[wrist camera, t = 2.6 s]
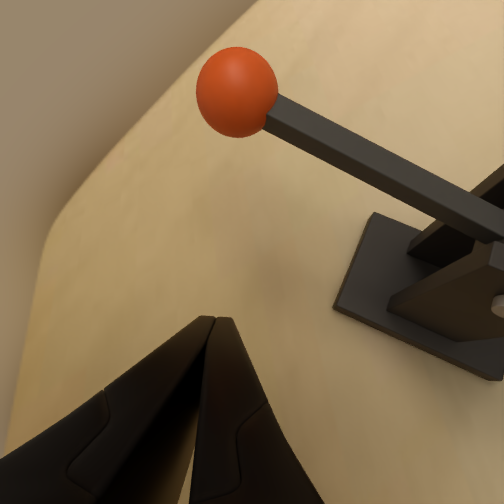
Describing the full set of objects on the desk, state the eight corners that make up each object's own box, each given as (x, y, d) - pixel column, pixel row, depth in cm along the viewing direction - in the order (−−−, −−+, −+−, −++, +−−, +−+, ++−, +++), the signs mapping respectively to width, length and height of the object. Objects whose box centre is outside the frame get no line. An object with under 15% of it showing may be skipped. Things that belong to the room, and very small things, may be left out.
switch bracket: (331, 308, 22) (397, 256, 11) (368, 218, 24) (452, 105, 13) (489, 381, 20) (727, 395, 10) (514, 278, 22) (734, 201, 12)
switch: (182, 130, 14) (177, 73, 11) (218, 77, 15) (221, 10, 12) (516, 302, 14) (600, 292, 11) (530, 239, 15) (613, 214, 12)
